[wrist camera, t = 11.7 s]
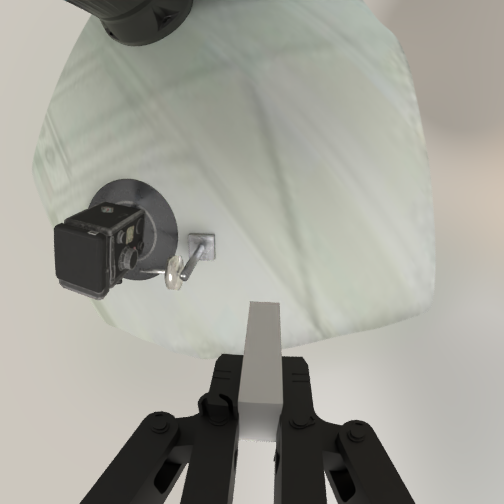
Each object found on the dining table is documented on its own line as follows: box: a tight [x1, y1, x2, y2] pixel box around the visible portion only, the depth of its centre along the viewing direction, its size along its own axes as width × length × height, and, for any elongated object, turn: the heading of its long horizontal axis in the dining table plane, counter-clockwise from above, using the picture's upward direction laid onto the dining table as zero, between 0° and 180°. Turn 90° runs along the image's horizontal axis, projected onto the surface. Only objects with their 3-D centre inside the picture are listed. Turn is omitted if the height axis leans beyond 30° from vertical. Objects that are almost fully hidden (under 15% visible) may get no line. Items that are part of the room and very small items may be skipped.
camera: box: [54, 201, 146, 300], centre depth 38 cm, size 10×10×15 cm
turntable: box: [89, 179, 178, 280], centre depth 45 cm, size 18×18×1 cm
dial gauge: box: [140, 234, 215, 290], centre depth 40 cm, size 4×8×12 cm, turn 89°
